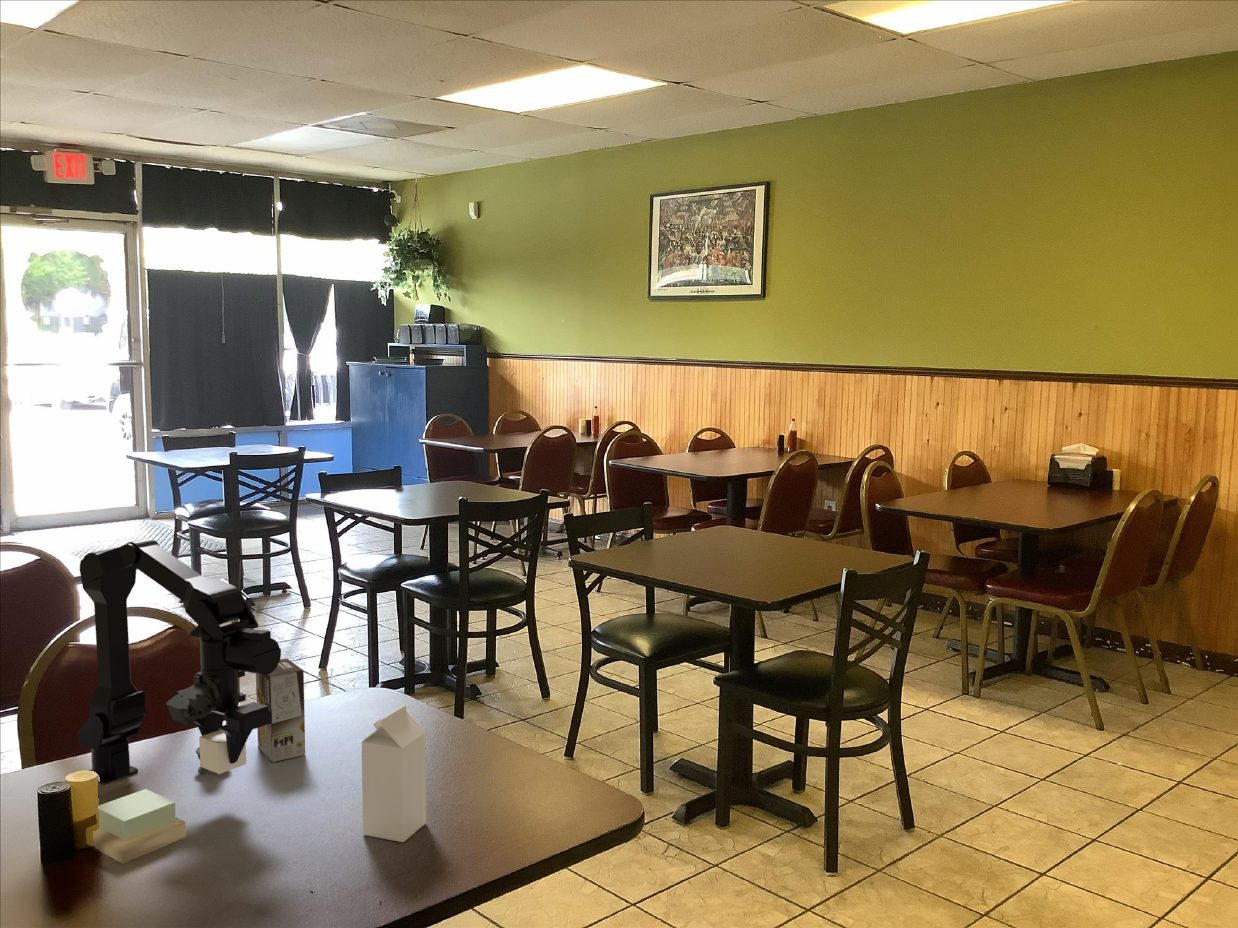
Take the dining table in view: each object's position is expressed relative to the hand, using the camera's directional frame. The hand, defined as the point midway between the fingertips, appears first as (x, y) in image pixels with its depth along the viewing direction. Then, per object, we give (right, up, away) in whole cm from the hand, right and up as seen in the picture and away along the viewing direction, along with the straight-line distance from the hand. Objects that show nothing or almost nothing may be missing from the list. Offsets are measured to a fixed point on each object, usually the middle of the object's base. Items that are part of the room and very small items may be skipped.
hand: (223, 758), depth 169 cm
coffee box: (+2, -5, +24) cm, 24 cm away
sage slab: (-9, -7, -12) cm, 16 cm away
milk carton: (+29, -9, -7) cm, 32 cm away
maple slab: (-9, -10, -12) cm, 17 cm away
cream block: (0, -1, 0) cm, 1 cm away
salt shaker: (-7, -6, +15) cm, 18 cm away
